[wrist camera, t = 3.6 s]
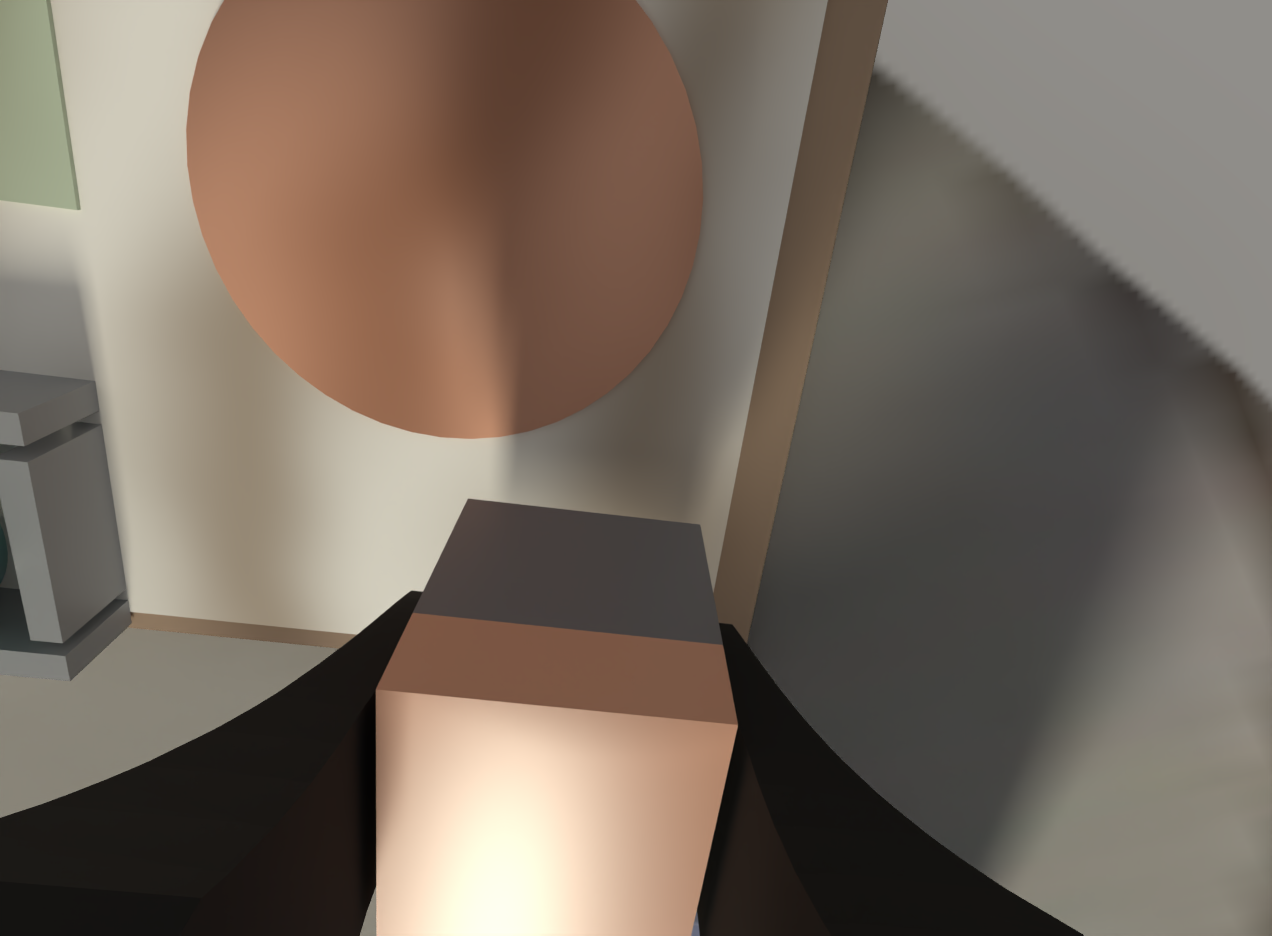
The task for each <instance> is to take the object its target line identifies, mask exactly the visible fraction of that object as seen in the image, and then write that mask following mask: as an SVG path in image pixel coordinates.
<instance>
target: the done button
mask: <svg viewBox="0 0 1272 936" xmlns="http://www.w3.org/2000/svg"><path fill="white" fill-rule="evenodd" d="M7 562H8V551H7V544H6V539H5V536H4V532H3V529H2V527H1V525H0V584H1V582H2V580H3V578H4V575H5V573H6V568H7Z"/></svg>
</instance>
